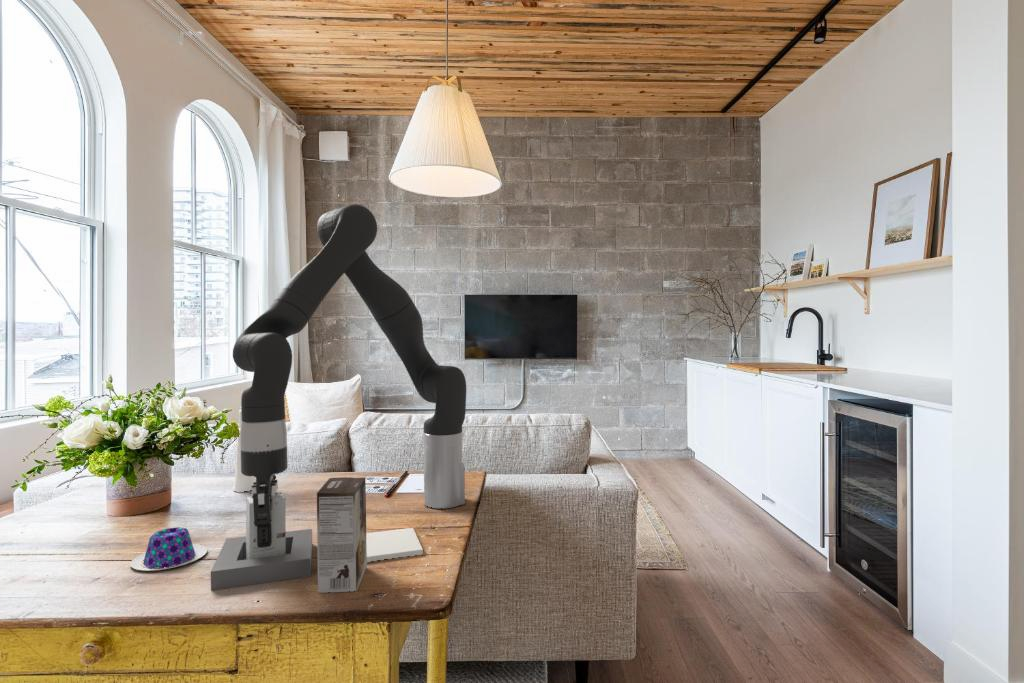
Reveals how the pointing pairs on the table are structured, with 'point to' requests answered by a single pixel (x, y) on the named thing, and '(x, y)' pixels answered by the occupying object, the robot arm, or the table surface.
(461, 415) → the robot arm
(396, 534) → the white mat
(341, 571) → the coffee box
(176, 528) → the purple patterned hat
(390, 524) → the table surface
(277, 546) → the skincare box
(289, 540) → the grey square frame
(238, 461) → the cosmetic bottle
